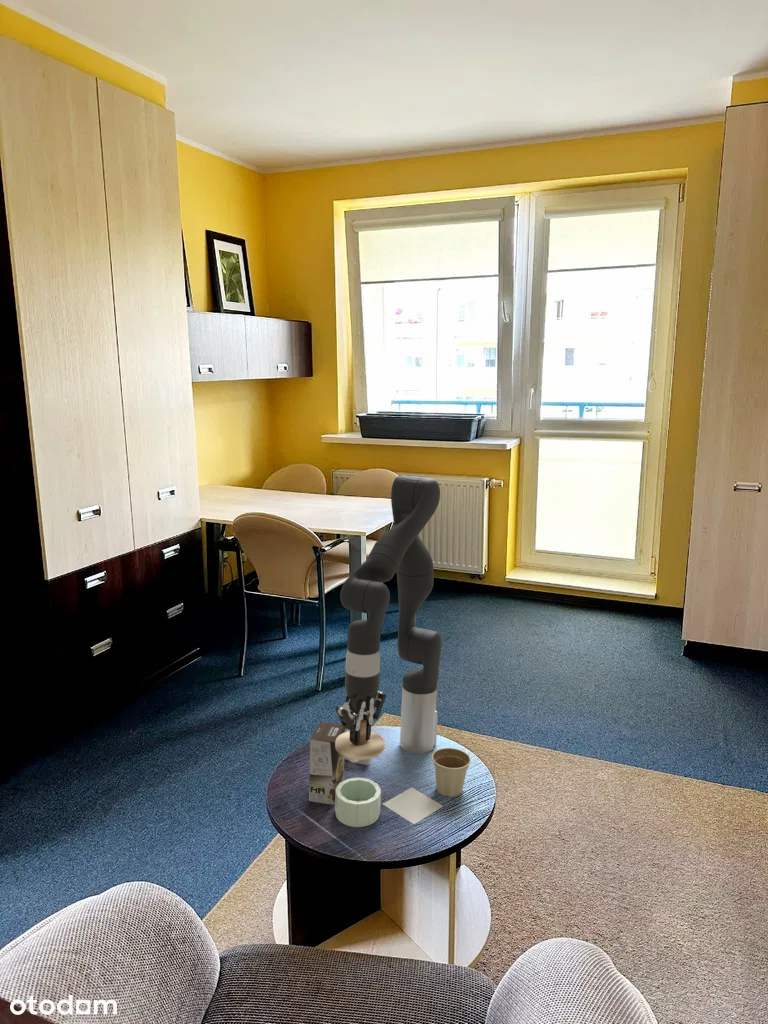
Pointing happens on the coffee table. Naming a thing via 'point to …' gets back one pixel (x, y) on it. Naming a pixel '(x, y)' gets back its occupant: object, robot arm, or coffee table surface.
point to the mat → (412, 805)
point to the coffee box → (325, 763)
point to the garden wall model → (359, 761)
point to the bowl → (357, 802)
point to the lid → (360, 744)
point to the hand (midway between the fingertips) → (360, 740)
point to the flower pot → (450, 770)
